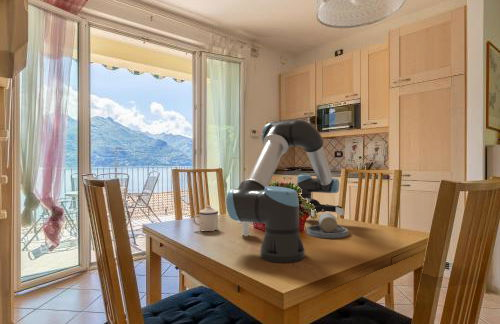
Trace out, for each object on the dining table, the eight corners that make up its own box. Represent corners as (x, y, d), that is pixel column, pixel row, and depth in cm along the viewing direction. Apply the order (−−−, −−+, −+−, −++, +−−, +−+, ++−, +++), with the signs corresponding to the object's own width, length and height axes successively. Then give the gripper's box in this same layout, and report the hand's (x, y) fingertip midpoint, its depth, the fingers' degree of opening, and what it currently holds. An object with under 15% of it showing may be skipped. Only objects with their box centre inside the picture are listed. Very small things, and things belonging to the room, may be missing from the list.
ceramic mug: (320, 233, 128) (320, 215, 128) (318, 229, 136) (318, 212, 136) (345, 234, 127) (345, 216, 127) (342, 229, 135) (342, 212, 135)
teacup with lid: (219, 227, 147) (219, 204, 147) (217, 232, 138) (217, 207, 138) (195, 228, 147) (194, 204, 147) (191, 232, 138) (191, 207, 138)
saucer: (315, 239, 122) (315, 234, 122) (301, 229, 140) (301, 225, 140) (356, 237, 125) (356, 232, 125) (337, 227, 143) (336, 223, 143)
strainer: (248, 238, 127) (247, 202, 127) (234, 236, 130) (233, 201, 130) (256, 234, 133) (256, 200, 133) (243, 232, 136) (242, 199, 136)
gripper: (334, 212, 155) (354, 220, 134) (287, 214, 151) (301, 222, 130) (333, 197, 155) (354, 203, 134) (287, 199, 151) (301, 205, 130)
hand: (328, 212), depth 132 cm, fingers open, 13 cm apart
